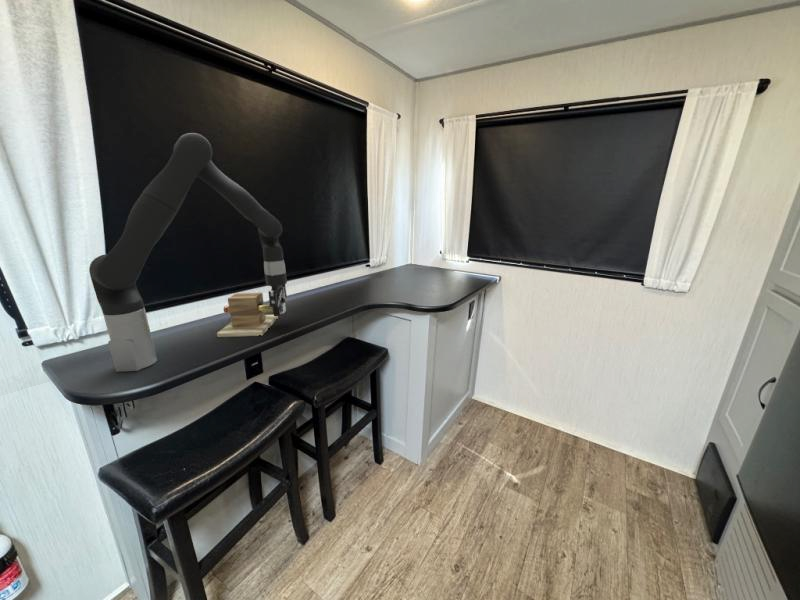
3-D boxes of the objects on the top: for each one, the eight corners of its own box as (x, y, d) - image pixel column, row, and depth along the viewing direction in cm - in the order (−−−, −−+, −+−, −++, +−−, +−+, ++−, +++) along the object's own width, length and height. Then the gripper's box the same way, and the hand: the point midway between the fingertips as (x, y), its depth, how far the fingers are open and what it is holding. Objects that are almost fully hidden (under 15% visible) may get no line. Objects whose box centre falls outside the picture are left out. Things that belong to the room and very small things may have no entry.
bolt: (283, 313, 124) (282, 304, 123) (223, 315, 123) (222, 306, 122) (285, 310, 128) (284, 302, 127) (227, 312, 126) (226, 303, 125)
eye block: (262, 335, 118) (257, 301, 114) (217, 337, 117) (211, 303, 113) (277, 317, 137) (274, 288, 133) (239, 319, 136) (235, 289, 132)
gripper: (271, 269, 128) (275, 307, 133) (258, 276, 114) (264, 318, 119) (290, 268, 129) (294, 306, 133) (280, 275, 115) (284, 318, 120)
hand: (280, 312), depth 126 cm, fingers open, 8 cm apart
